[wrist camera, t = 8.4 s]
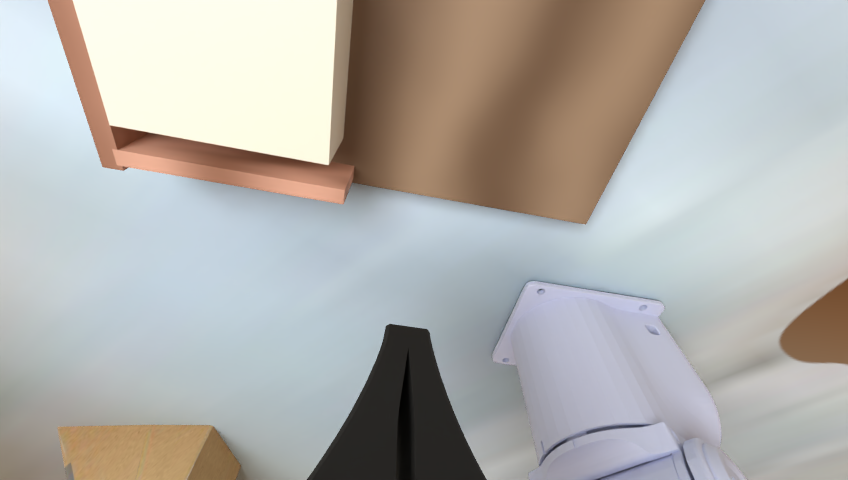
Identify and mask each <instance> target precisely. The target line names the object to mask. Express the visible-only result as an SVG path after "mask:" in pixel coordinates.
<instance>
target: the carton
mask: <svg viewBox="0 0 848 480" xmlns="http://www.w3.org/2000/svg"><path fill="white" fill-rule="evenodd" d="M73 3H74V7H75V10H76V13H77V17H78V20H79V23H80V27H81V30H82V34H83V37H84V40H85V44H86V47H87V50H88V54H89V57H90V61H91V64H92V67H93V71H94V74H95V77H96V81H97V84H98V88H99V91H100V94H101V98H102V101H103V104H104V108H105V111H106V115H107V118H108V121H109V125H112V126H117V127H123V128H128V129H134V130H139V131H145V132H150V133H155V134H161V135H166V136H172V137H177V138H183V139H188V140H194V141H199V142H205V143H210V144H216V145H221V146H226V147H232V148H237V149H243V150H248V151H254V152H259V153H265V154H270V155H276V156H281V157H286V158H292V159H297V160H303V161H308V162H314V163H319V164H325V165H329V164H330V162H331V160H332V158H333V156H334V155H335V153H336V151H337V149H338V147H339V146H340V144H341V142H342V140H343V137H344V123H345V109H346V95H347V81H348V67H349V53H350V39H351V25H352V11H353V0H73Z"/></svg>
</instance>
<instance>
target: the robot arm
mask: <svg viewBox="0 0 848 480" xmlns="http://www.w3.org/2000/svg"><path fill="white" fill-rule="evenodd" d="M539 289H542V290H539ZM538 290H539V291H538ZM664 309H665V306H664V305H663V304H662V302H660V301H656V300H650V299H644V298H637V297H631V296H625V295H619V294H612V293H606V292H600V291H594V290H587V289H581V288H575V287H569V286H562V285H556V284H550V283H544V282H538V281H530V282H528V283H526V285H525V286H524V288H523V290H522V292H521V294H520V297H519V299H518V301H517V303H516V305H515V307H514V309H513V311H512V314H511V316H510V318H509V320H508V322H507V324H506V326H505V328H504V330H503V333H502V335H501V337H500V339H499V341H498V343H497V345H496V347H495V349H494V352H493V354H492V360H493V361H494V362H495V363H501V364H508V365H516V366H517V370H518V374H519V379H520V383H521V388H522V392H523V396H524V401H525V405H526V410H527V414H528V418H529V423H530V427H531V432H532V436H533V440H534V445H535V449H536V454H537V458H538V462H539V467H538V468H537V469H535V470H534V471H531V472H529V473H528V476H529V480H748V479H747V478H746V477H745V475H744V474H743V473H742V472H741V470H740V469H739V468H738V467H737V466H736V464H735V463H734V462H733V461H732V460H731V459H730V457H729V456H728V455H727V454H726V453H725V452H724V451H722V450H721V449H720V445H721V438H722V433H721V424H720V418H719V414H718V410H717V407H716V404H715V402H714V400H713V398H712V396H711V394H710V392H709V391H708V389H707V387H706V386H705V385H704V383H703V382H702V380H701V379H700V377H699V376H698V374H697V373H696V371H695V370H694V368H693V367H692V366H691V364H690V363H689V361H688V360H687V358H686V357H685V355H684V354H683V352H682V351H681V349H680V348H679V346H678V345H677V344H676V342H675V341H674V339H673V338H672V336H671V335H670V333H669V332H668V330H667V329H666V327H665V326H664V325H663V323H662V322H661V320H660V319H659V316H660V315H661V313H662V312H663V311H664ZM307 480H486V478H485V476H484V474H483V472H482V470H481V469H480V467H479V465H478V463H477V461H476V459H475V457H474V455H473V453H472V451H471V449H470V447H469V445H468V443H467V441H466V439H465V437H464V434H463V432H462V430H461V428H460V425H459V423H458V421H457V418H456V416H455V414H454V411H453V409H452V406H451V404H450V401H449V398H448V396H447V393H446V390H445V387H444V384H443V382H442V379H441V376H440V373H439V369H438V366H437V363H436V359H435V356H434V352H433V348H432V343H431V339H430V333H429V331H428V330H427V329H422V328H415V327H407V326H400V325H393V324H389V325H387V326H386V329H385V334H384V339H383V342H382V346H381V349H380V351H379V354H378V357H377V359H376V362H375V364H374V366H373V368H372V371H371V373H370V375H369V377H368V380H367V382H366V384H365V386H364V388H363V390H362V392H361V393H360V395H359V397H358V399H357V401H356V403H355V405H354V407H353V409H352V410H351V412H350V414H349V416H348V417H347V419H346V421H345V422H344V424H343V426H342V427H341V429H340V431H339V432H338V434H337V436H336V437H335V439H334V440H333V442H332V443H331V445H330V447H329V448H328V450H327V451H326V453H325V454H324V456H323V457H322V459H321V460H320V462H319V463H318V465H317V466H316V468H315V469H314V470H313V472H312V473H311V475H310V476H309V477H308V479H307Z"/></svg>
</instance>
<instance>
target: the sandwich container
mask: <svg viewBox="0 0 848 480" xmlns="http://www.w3.org/2000/svg"><path fill="white" fill-rule="evenodd" d="M58 433H59V439H60V444H61V450H62V455H63V461H64V466H65V472H66V479H67V480H236V477H237V475H238V472H239V469H240V467H241V465H240V464H239V462H238V461H237V459H236V458H235V457H234V455H233V454H232V452H231V451H230V449H229V448H228V446H227V445H226V444H225V442H224V441H223V439H222V438H221V437H220V435H219V434H218V432H217V431H216V429H215V428H214V427H213V426H210V425H125V426H80V427H58Z"/></svg>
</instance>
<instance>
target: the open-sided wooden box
mask: <svg viewBox="0 0 848 480" xmlns="http://www.w3.org/2000/svg"><path fill="white" fill-rule="evenodd" d="M704 2H705V0H353V11H352V25H351V39H350V53H349V67H348V81H347V95H346V109H345V123H344V137H343V140H342V142H341V144H340V146H339V147H338V149H337V151H336V153H335V155H334V156H333V158H332V160H331V162H330V164H329V165H325V164H319V163H314V162H308V161H303V160H297V159H292V158H286V157H281V156H276V155H270V154H265V153H259V152H254V151H248V150H243V149H237V148H232V147H226V146H221V145H216V144H210V143H205V142H199V141H194V140H188V139H183V138H177V137H172V136H166V135H161V134H155V133H150V132H145V131H139V130H134V129H128V128H123V127H117V126H112V125H109V121H108V118H107V115H106V111H105V108H104V104H103V101H102V98H101V94H100V91H99V88H98V84H97V81H96V77H95V74H94V71H93V67H92V64H91V61H90V57H89V54H88V50H87V47H86V44H85V40H84V37H83V34H82V30H81V27H80V23H79V20H78V17H77V13H76V10H75V7H74V3H73V0H48V3H49V6H50V9H51V12H52V15H53V18H54V21H55V24H56V27H57V30H58V33H59V36H60V39H61V42H62V45H63V48H64V51H65V54H66V57H67V60H68V63H69V66H70V69H71V72H72V75H73V79H74V82H75V85H76V88H77V91H78V94H79V97H80V100H81V103H82V106H83V109H84V112H85V115H86V118H87V121H88V124H89V127H90V130H91V133H92V136H93V139H94V142H95V145H96V148H97V151H98V154H99V157H100V160H101V164H102V167H105V168H111V169H117V170H123V171H124V170H125V169H127V168H128V167H130V168H136V169H142V170H147V171H153V172H159V173H165V174H171V175H176V176H182V177H188V178H194V179H200V180H205V181H211V182H217V183H223V184H228V185H234V186H240V187H246V188H252V189H257V190H263V191H269V192H275V193H281V194H286V195H292V196H298V197H304V198H310V199H315V200H321V201H327V202H333V203H338V204H344V202H345V199H346V197H347V194H348V192H349V189H350V186H351V184H352V183H358V184H363V185H369V186H374V187H380V188H386V189H391V190H397V191H402V192H408V193H413V194H419V195H425V196H430V197H436V198H441V199H447V200H453V201H458V202H464V203H469V204H475V205H480V206H486V207H492V208H497V209H503V210H508V211H514V212H520V213H525V214H531V215H536V216H542V217H547V218H553V219H559V220H564V221H570V222H575V223H581V224H586V223H587V221H588V219H589V218H590V216H591V214H592V212H593V210H594V208H595V206H596V204H597V203H598V201H599V199H600V197H601V195H602V193H603V191H604V189H605V188H606V186H607V184H608V182H609V180H610V178H611V176H612V174H613V172H614V171H615V169H616V167H617V165H618V163H619V161H620V159H621V157H622V156H623V154H624V152H625V150H626V148H627V146H628V144H629V142H630V141H631V139H632V137H633V135H634V133H635V131H636V129H637V127H638V126H639V124H640V122H641V120H642V118H643V116H644V114H645V112H646V111H647V109H648V107H649V105H650V103H651V101H652V99H653V97H654V96H655V94H656V92H657V90H658V88H659V86H660V84H661V82H662V80H663V79H664V77H665V75H666V73H667V71H668V69H669V67H670V65H671V64H672V62H673V60H674V58H675V56H676V54H677V52H678V50H679V49H680V47H681V45H682V43H683V41H684V39H685V37H686V35H687V34H688V32H689V30H690V28H691V26H692V24H693V22H694V20H695V19H696V17H697V15H698V13H699V11H700V9H701V7H702V5H703V4H704Z"/></svg>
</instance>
